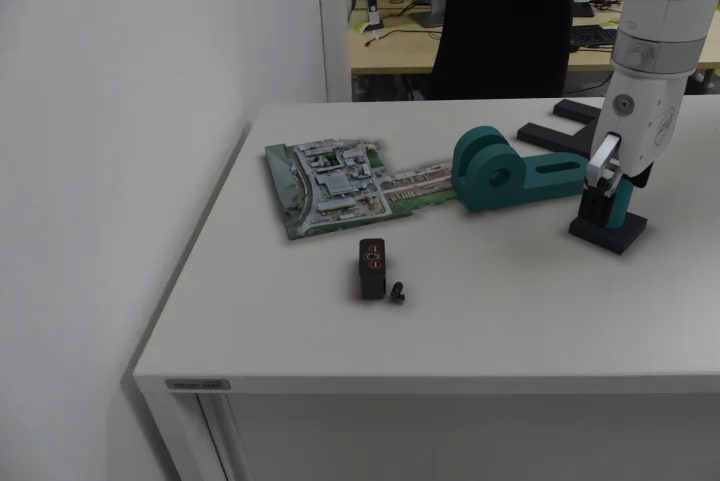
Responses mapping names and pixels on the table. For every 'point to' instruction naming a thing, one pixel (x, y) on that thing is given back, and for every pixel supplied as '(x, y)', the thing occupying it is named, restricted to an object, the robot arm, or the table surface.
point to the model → (348, 186)
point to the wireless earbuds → (375, 270)
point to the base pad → (563, 141)
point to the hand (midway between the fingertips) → (612, 201)
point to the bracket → (510, 172)
